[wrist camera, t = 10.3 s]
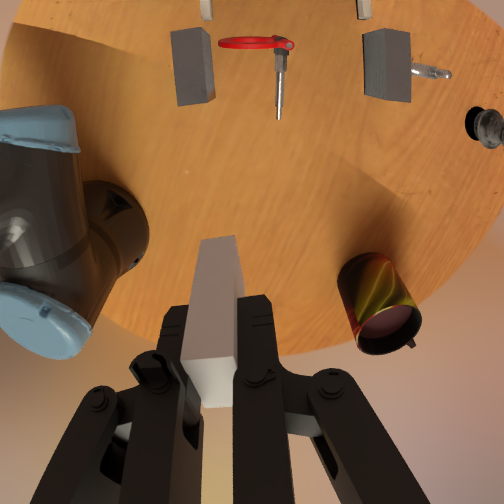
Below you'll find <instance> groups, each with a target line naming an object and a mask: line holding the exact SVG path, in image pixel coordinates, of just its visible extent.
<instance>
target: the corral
mask: <svg viewBox="0 0 504 504" xmlns="http://www.w3.org/2000/svg"><path fill="white" fill-rule="evenodd" d="M200 7H201V18H202V19H203V20H204V21H209V20H213V12H212V0H200ZM356 11H357V20H367V19H370V18H372V11H371V0H356Z"/></svg>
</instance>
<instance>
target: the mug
mask: <svg viewBox="0 0 504 504" xmlns="http://www.w3.org/2000/svg"><path fill="white" fill-rule="evenodd" d="M337 285H338V289H339V292H340V295H341V298H342V301H343V304H344V307H345V310H346V313H347V316H348V319H349V322H350V325H351V328H352V331H353V335H354V338H355V341H356V344H357V347H358V348H359V350H361V351H362V352H364V353H366V354H369V355H383V354H387V353H391V352H393V351H396V350H398V349H400V348H402V347H403V346H405V345H406V344H407V345H408V346H409V347H410V348H413V347H415V346H416V344H415V342H414V340H413V338H414V337H415V336H416V334H417V332H418V331H419V329H420V327H421V323H422V316H421V313H420V311H419V309H418V308H417V306H416V304H415V302H414V300H413V299H412V297H411V295H410V293H409V292H408V290H407V288H406V286H405V285H404V283H403V281H402V280H401V278H400V276H399V275H398V273H397V271H396V270H395V268H394V266H393V265H392V263H391V261H390V260H389V259H388V258H387V257H386V256H384V255H382V254H380V253H364V254H361V255H358V256H356V257H354V258H353V259H351V260H350V261H349V262H347V263H346V264H345V265H344V267H343V268H342V269H341V271H340V273H339V276H338V280H337Z"/></svg>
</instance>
